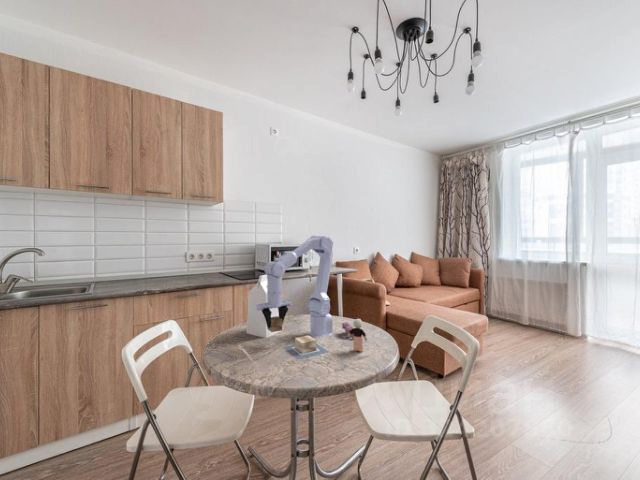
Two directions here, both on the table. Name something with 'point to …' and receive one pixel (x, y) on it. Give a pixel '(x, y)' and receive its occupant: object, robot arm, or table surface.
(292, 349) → the board
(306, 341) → the maple block
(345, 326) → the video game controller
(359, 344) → the grandmother figurine
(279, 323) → the walnut cube
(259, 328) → the milk
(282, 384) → the table surface
